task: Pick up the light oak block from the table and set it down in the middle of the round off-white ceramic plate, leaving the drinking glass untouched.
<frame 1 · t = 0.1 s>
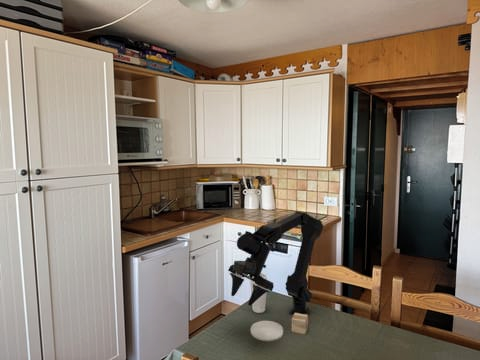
hand: (240, 300, 119), 15 cm above the table, tool tilted 35°, fingers open, 9 cm apart
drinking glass: (258, 310, 142), on the table
oak block: (299, 329, 127), on the table
plate: (266, 331, 126), on the table
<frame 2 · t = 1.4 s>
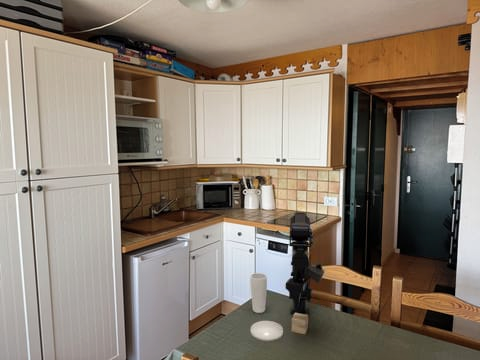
hand: (299, 299, 126), 12 cm above the table, tool pointing down, fingers open, 9 cm apart
nothing on the table moved.
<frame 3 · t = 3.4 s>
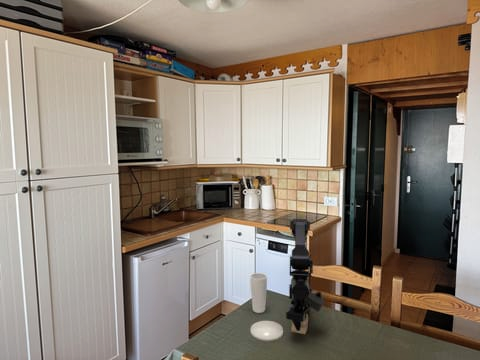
hand: (299, 326, 127), 1 cm above the table, tool pointing down, fingers closed on oak block, 5 cm apart
oak block: (299, 329, 127), on the table, touching gripper
everything else where it was.
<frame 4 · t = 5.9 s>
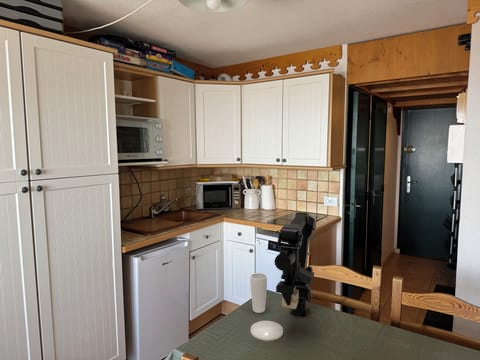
hand: (290, 302, 125), 11 cm above the table, tool pointing down, fingers closed on oak block, 5 cm apart
oak block: (290, 304, 125), point 10 cm above the table, touching gripper
everything else where it was.
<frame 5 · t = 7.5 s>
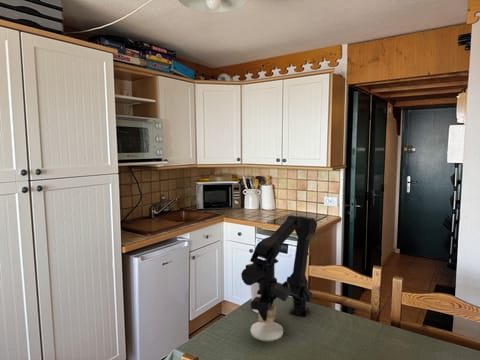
hand: (266, 317, 125), 6 cm above the table, tool pointing down, fingers closed on oak block, 5 cm apart
oak block: (267, 319, 125), point 5 cm above the table, touching gripper
everything else where it was.
when the fingers open (3 cm above the table, at t = 8.7 s): oak block drops 1 cm, resting on plate.
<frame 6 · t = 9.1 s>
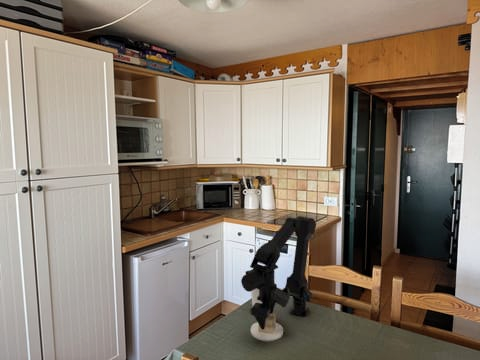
hand: (266, 322, 125), 3 cm above the table, tool pointing down, fingers open, 9 cm apart
oak block: (267, 329, 126), point 1 cm above the table, touching plate
everything else where it was.
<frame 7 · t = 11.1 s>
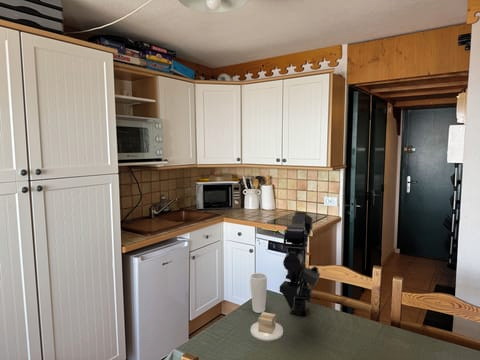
hand: (295, 302, 124), 11 cm above the table, tool pointing down, fingers open, 9 cm apart
nothing on the table moved.
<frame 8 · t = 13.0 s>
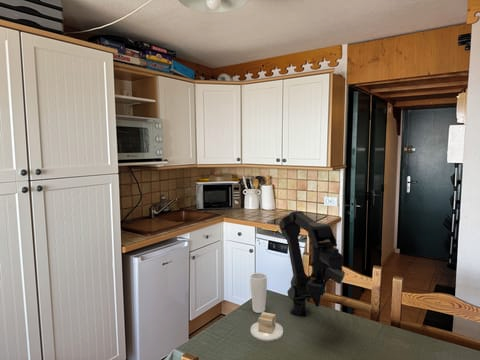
hand: (319, 300, 124), 12 cm above the table, tool pointing down, fingers open, 9 cm apart
nothing on the table moved.
at the end: oak block inside the target area on the plate (0.1 cm from its centre), point 1.0 cm above the plate's base; oak block tilted 0°; the gripper is holding nothing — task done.
